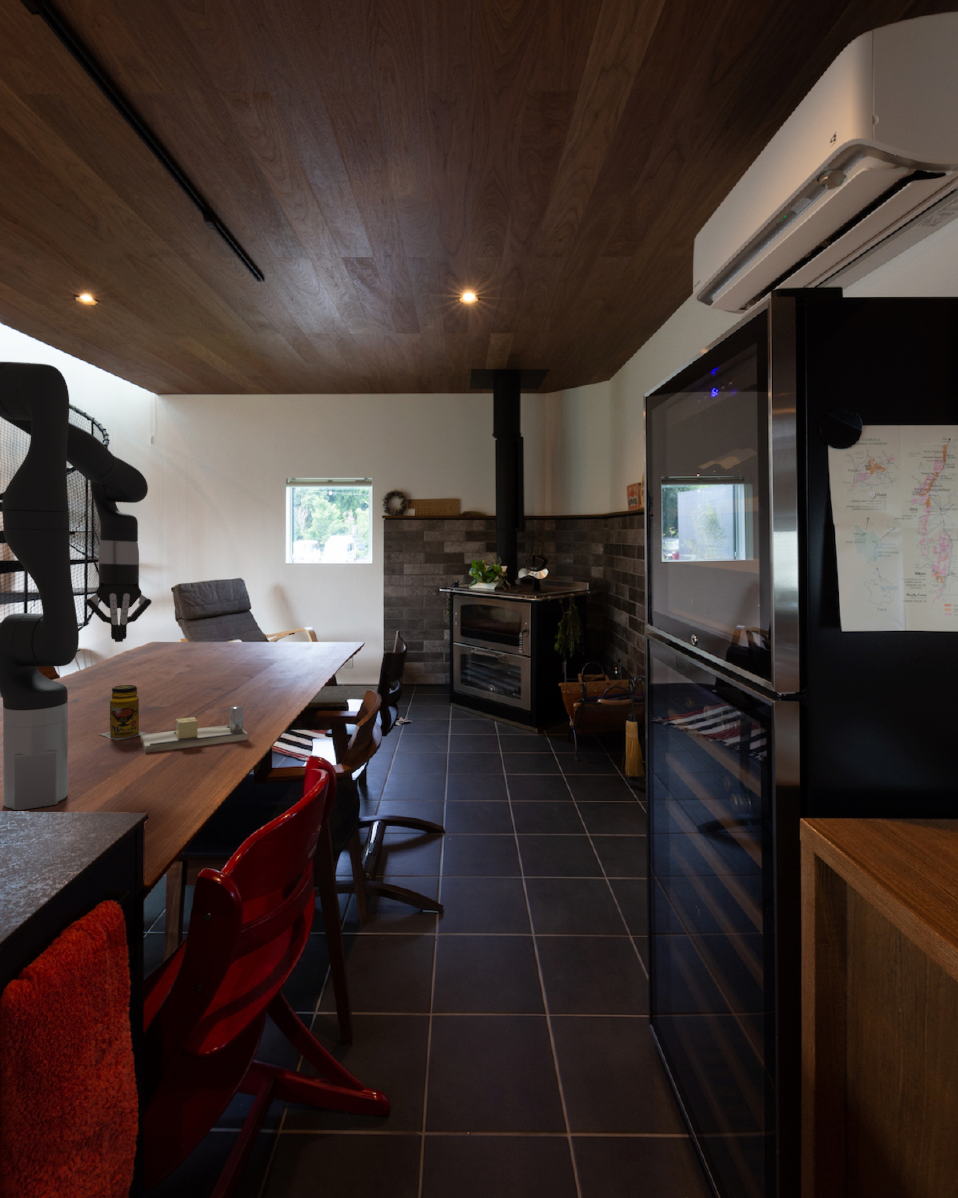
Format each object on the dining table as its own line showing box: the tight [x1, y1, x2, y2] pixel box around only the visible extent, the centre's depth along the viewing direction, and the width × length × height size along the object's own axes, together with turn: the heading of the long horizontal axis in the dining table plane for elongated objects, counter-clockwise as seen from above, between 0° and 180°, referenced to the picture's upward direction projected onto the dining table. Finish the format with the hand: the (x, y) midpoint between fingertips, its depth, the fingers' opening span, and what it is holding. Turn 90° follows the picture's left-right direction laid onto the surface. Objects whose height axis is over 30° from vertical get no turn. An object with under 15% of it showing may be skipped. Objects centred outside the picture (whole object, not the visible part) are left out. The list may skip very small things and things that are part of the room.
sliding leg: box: [175, 716, 199, 740], centre depth 144 cm, size 7×4×4 cm, turn 35°
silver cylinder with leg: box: [229, 705, 244, 733], centre depth 150 cm, size 6×3×6 cm, turn 34°
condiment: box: [98, 684, 147, 741], centre depth 148 cm, size 7×8×12 cm
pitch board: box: [140, 724, 249, 754], centre depth 145 cm, size 10×22×2 cm, turn 124°
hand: (118, 641), depth 132 cm, fingers closed
